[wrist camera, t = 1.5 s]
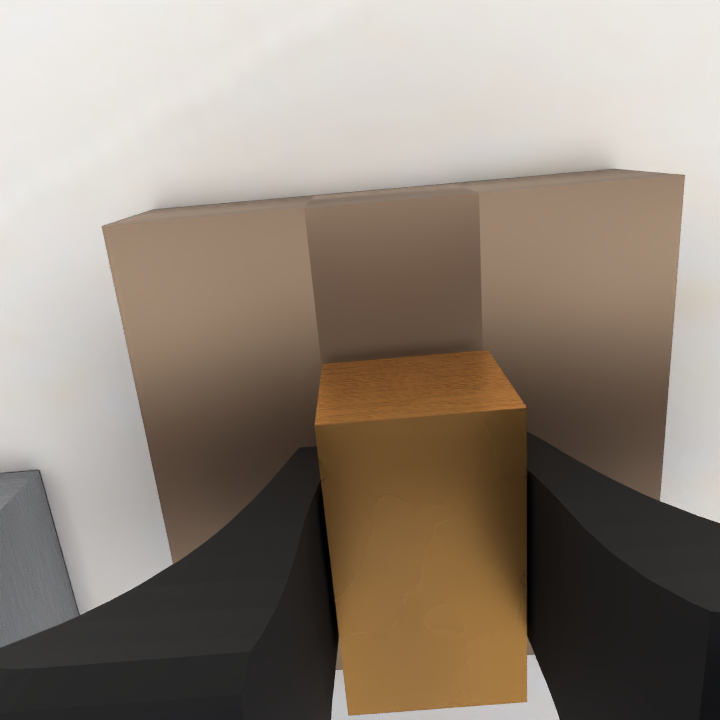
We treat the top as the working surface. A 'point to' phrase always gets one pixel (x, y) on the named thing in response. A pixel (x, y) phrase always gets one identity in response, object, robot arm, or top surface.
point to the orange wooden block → (426, 529)
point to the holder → (396, 319)
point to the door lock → (30, 561)
